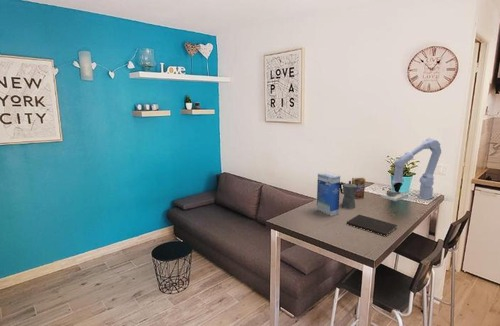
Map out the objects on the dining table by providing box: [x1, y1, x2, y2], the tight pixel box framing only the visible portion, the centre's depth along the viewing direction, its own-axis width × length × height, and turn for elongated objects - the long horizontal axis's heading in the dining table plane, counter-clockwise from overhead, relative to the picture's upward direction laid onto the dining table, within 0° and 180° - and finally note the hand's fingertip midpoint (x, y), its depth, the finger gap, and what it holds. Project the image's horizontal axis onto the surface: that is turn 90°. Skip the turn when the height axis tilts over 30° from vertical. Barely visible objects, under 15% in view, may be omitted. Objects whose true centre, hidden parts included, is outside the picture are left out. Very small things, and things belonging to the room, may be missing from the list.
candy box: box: [351, 177, 366, 199], centre depth 217 cm, size 9×4×15 cm, turn 98°
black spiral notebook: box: [346, 214, 399, 237], centre depth 168 cm, size 16×23×2 cm
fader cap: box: [386, 189, 396, 197], centre depth 215 cm, size 4×5×4 cm
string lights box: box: [316, 171, 341, 217], centre depth 188 cm, size 13×8×26 cm, turn 32°
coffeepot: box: [340, 180, 358, 209], centre depth 201 cm, size 15×9×18 cm, turn 33°
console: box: [380, 191, 408, 202], centre depth 218 cm, size 17×11×2 cm, turn 125°
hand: (396, 192), depth 219 cm, fingers closed
